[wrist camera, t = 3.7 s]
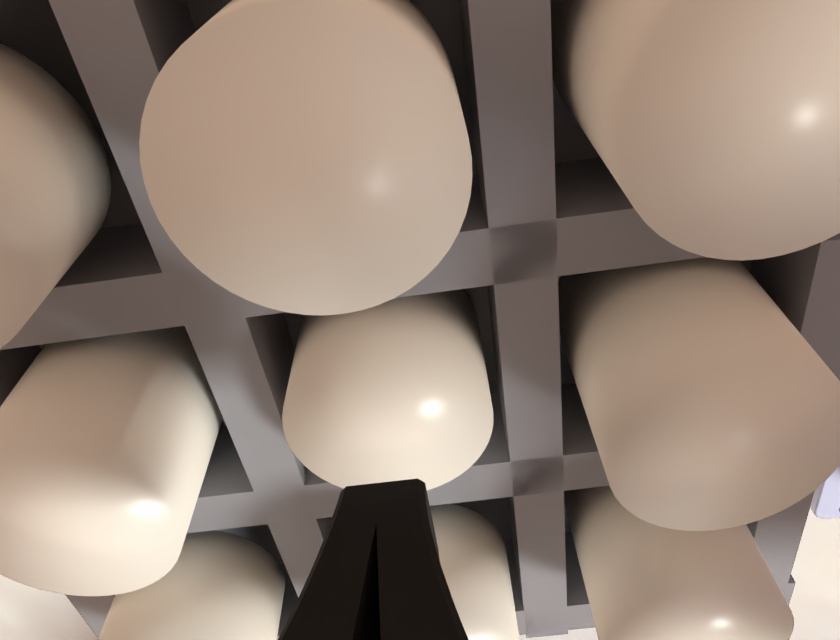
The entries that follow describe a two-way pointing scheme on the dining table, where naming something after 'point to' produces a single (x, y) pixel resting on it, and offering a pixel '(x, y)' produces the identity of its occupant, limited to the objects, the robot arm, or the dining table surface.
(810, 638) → the dining table surface
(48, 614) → the dining table surface
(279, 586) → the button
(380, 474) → the button mid
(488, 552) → the middle button
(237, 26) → the mid button
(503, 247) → the board
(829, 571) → the dining table surface
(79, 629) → the dining table surface
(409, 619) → the robot arm
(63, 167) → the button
